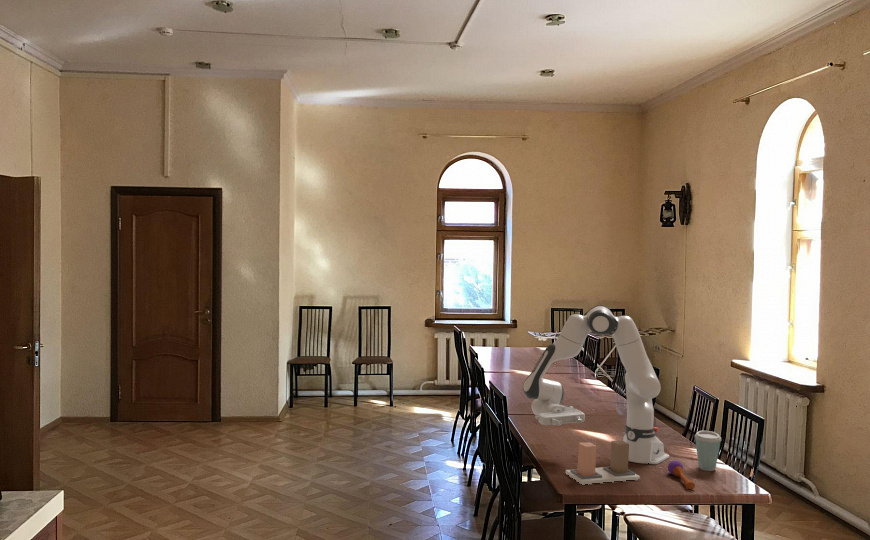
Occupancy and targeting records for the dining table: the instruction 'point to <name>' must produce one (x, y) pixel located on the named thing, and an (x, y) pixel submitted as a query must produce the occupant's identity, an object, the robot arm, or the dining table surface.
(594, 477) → the board
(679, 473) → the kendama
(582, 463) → the terracotta pillar
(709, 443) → the disposable coffee cup
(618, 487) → the dining table surface
